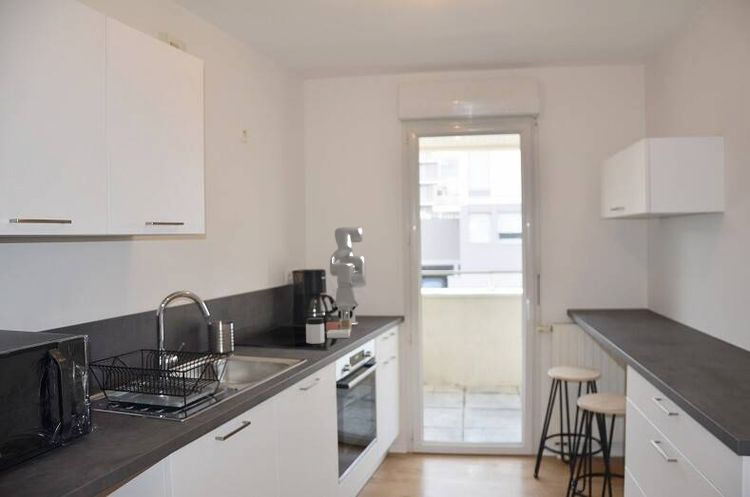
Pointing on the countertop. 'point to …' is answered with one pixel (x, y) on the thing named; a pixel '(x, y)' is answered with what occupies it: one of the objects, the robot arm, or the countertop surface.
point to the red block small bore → (331, 326)
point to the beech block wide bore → (345, 325)
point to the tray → (338, 334)
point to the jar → (315, 330)
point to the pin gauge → (345, 315)
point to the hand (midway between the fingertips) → (345, 318)
